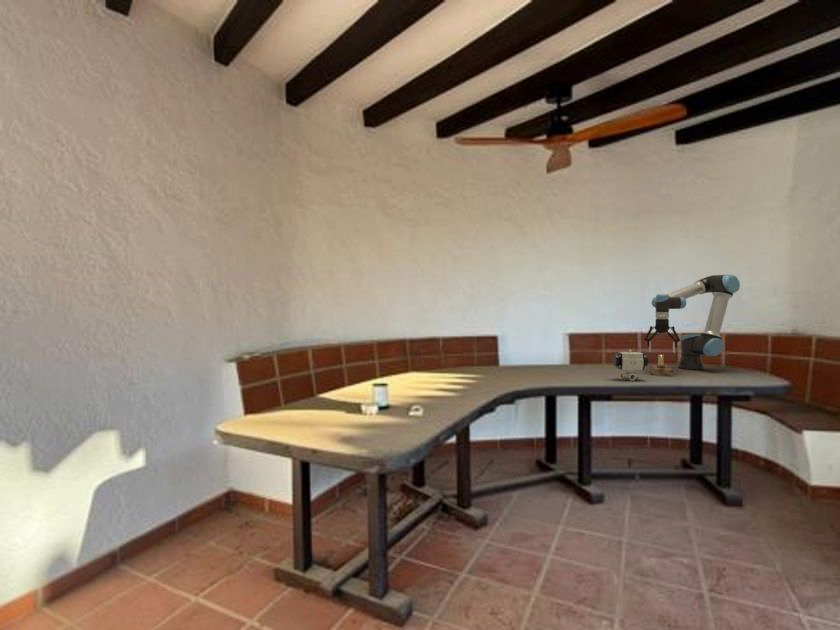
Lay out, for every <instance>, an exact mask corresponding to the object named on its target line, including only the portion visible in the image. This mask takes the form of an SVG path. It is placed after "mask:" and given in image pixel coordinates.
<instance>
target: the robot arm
mask: <svg viewBox="0 0 840 630" xmlns="http://www.w3.org/2000/svg"><path fill="white" fill-rule="evenodd" d="M740 287H741V282H740V280H739V278H738V277H737V276H736V275H733V274H726V273H725V274H713V275H709V276H706V277H703V278H701V279H698V280H696V281H694V282H693V283H692V284H689V285H687V286H685V287H682V288H680V289H676V290H675V291H672V292H669V293H662V294H661V293H660V294H656V296H655V297H653V298H652V300H651V305H652V307H653V308H655V325H654V326H653V325H650V326H649V330H648V331H647V333H646V335H645V336H644V339H643V340H644V341H645V342H646V343H647V344H646V346H647V347H648V352H649V353H651V352H652V348H651V347H652V341H651V340H652V339H653V338H654V337H655V336H656V335H658V334H663V335H664V334H667V335H668V336H669V337H670V338H671V339H672V341H673V342H672V353H673V354H675V353H676V348H677V347H678V342H681V344H680V345H681V349H680V350H681V353H680V354H681V355H680V359H679V361H678V364H677V368H678V367H680V368H679V369H682V368H685V369H684V370H689V369H696V370H695V371H700V370H699V369H703V370H704V369H705V367H704V363H703V360H702V355H703V356H708V357H716V356H718V355H720V354H721V353H722V351H723V349H724V341H723V340H722V336H721V335H720V334H721V329H722V326H723V322H724V318H725V315H726V311H727V308H728V304H729V300H730V299H732V298H733V296H734V293H737V292H738V291H739V290H740ZM707 293H709V294H710V293H711V295H712V296H713V298H712V301H711V305H710V308H709V309H710V310H709V313H708V316H707V320H706V324H705V327H704V330H703V331H702V332H701V333H700V334H696V333H695V334H684V335H682V337H681V339H680V337H679V335H678V333H677V331H676V329H675V328H676V327H675V326H669V325H670V319H669V317H670V310H680V309H681V310H682V309H684V308H685V307H686V306H687V299H689V298H692V297H695V296H697V295H704V294H707ZM653 330H655V331H654V332H653ZM669 330H671V331H672V333H673V335H674V336H673V335H672V334H671V332H669ZM652 332H653V333H652ZM651 333H652V334H651ZM650 334H651V336H650Z"/></svg>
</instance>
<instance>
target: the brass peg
mask: <svg viewBox="0 0 840 630" xmlns="http://www.w3.org/2000/svg"><path fill="white" fill-rule="evenodd" d="M664 362H665V354H658V355H657V365H658V368H664V366H665V365H664V364H665V363H664Z"/></svg>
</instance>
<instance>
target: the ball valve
mask: <svg viewBox="0 0 840 630" xmlns="http://www.w3.org/2000/svg"><path fill="white" fill-rule="evenodd" d="M612 364H613V366H614V367H615V368H616V369H618V370H620V371H621V370H623V372H621V373H620V378H621V379H622V380H625V381H631V382H632V381H636V380H639V379H640V373H638V372H636V371H645V368H647V366H648V364H649V359H648V356H647V355H646V354H645V353H643V352H640V351H633V350H632V349H629V350H628V351H616V353H615V354H614V355H613V356H612Z"/></svg>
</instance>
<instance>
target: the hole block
mask: <svg viewBox="0 0 840 630" xmlns="http://www.w3.org/2000/svg"><path fill="white" fill-rule="evenodd" d="M648 370H649V373H650V375H651V376H663V377H664V376H665V377H674V369H673V368H672V367H671V365H664V368H658V364H656V365H655V364H649V369H648Z"/></svg>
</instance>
